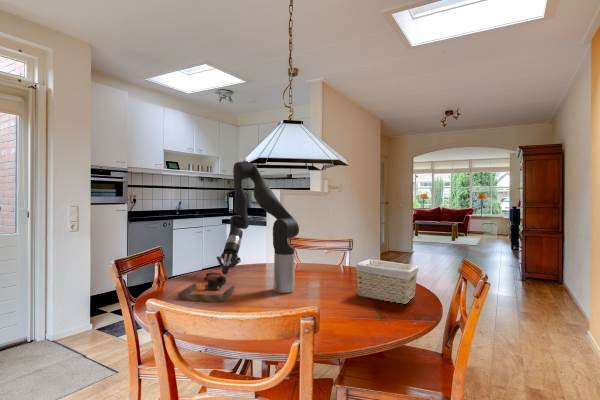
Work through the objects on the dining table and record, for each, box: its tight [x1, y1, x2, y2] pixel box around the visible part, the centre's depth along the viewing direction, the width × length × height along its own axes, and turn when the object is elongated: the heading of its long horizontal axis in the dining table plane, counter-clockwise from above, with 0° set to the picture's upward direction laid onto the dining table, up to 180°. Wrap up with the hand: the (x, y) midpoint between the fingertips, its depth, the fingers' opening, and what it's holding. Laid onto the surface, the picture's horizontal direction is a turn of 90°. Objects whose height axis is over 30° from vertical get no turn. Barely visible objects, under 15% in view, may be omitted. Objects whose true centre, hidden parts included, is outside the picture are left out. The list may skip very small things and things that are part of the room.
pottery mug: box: [203, 272, 227, 291], centre depth 159 cm, size 12×10×8 cm
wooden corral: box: [177, 283, 235, 303], centre depth 147 cm, size 19×16×2 cm
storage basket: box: [355, 259, 419, 305], centre depth 151 cm, size 24×16×15 cm
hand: (224, 273), depth 169 cm, fingers closed
